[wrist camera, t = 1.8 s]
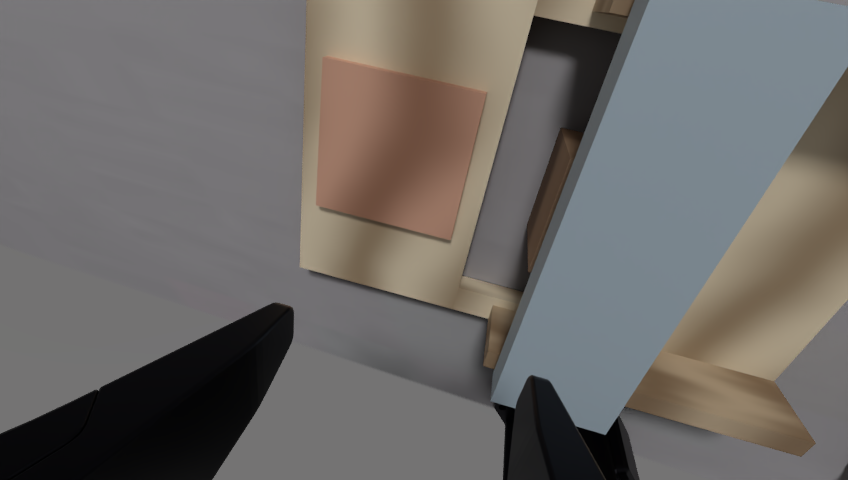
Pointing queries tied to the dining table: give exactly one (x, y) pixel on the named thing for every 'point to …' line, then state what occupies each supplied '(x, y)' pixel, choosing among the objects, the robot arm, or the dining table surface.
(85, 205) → the dining table surface
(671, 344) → the puzzle board
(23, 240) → the dining table surface
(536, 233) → the walnut block
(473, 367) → the dining table surface
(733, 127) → the sliding slat
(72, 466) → the robot arm
